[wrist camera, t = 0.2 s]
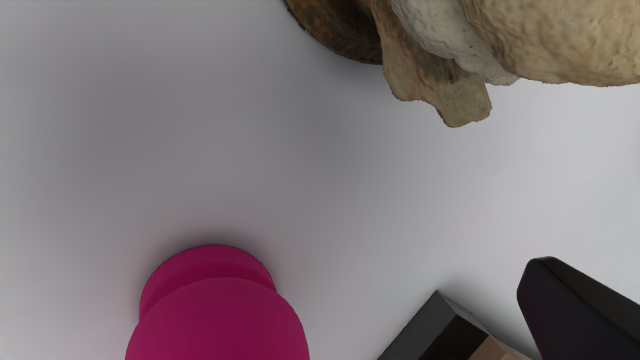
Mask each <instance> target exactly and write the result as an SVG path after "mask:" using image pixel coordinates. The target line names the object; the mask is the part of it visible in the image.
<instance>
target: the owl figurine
mask: <svg viewBox="0 0 640 360" xmlns="http://www.w3.org/2000/svg"><path fill="white" fill-rule="evenodd" d="M284 2H286V5H287V7H288V11H290V12H291V14H292V15H293V16H294V18H295V19H296V21H298V22H299V25H300V26H301V27H302V28H303V29H304V30H307V31H308V32H309V33H310V34H311V35H312V36H313V37H314V38H315V39H317V40H318V41H319V42H321V43H322V44H323V45H325V46H326V47H327V48H328V49H330V50H332V51H333V52H335V53H336V54H338V55H341V56H344V57H347V58H349V59H351V60H355V61H358V62H360V63H365V64H374V65H376V64H377V65H383V71H384V75H385V77H386V79H387V81H388V83H389V85H390V89H391V91H392V94H393V95H394V96H395V97H396V98H397V99H399V100H400V101H413V100H418V101H419V100H420V99H421V100H422V101H425V102H427V103H428V104H431V105H432V106H434V107H435V108H436V110H437V112H438V114H439V115H440V117H441V118H443V122H444V123H445V124H446V125H447V126H448V127H452V128H455V127H460V126H463V125H465V124H467V123H470V122H471V121H476V122H478V121H481V120H483V119H485V118H486V117H488V116H489V114H490V110H491V109H492V106H491V102H490V99H489V96H488V93H487V90H486V87H485V84H484V82H485V83H491V84H492V85H503V86H509V85H511V84H513V83H514V82H516V80H518V79H520V78H525V79H528V80H535V81H541V82H543V83H550V84H562V83H567V82H571V83H574V84H580V85H587V86H589V85H590V86H596V87H608V86H611V87H612V86H624V85H629V84H638V83H640V0H284Z"/></svg>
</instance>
